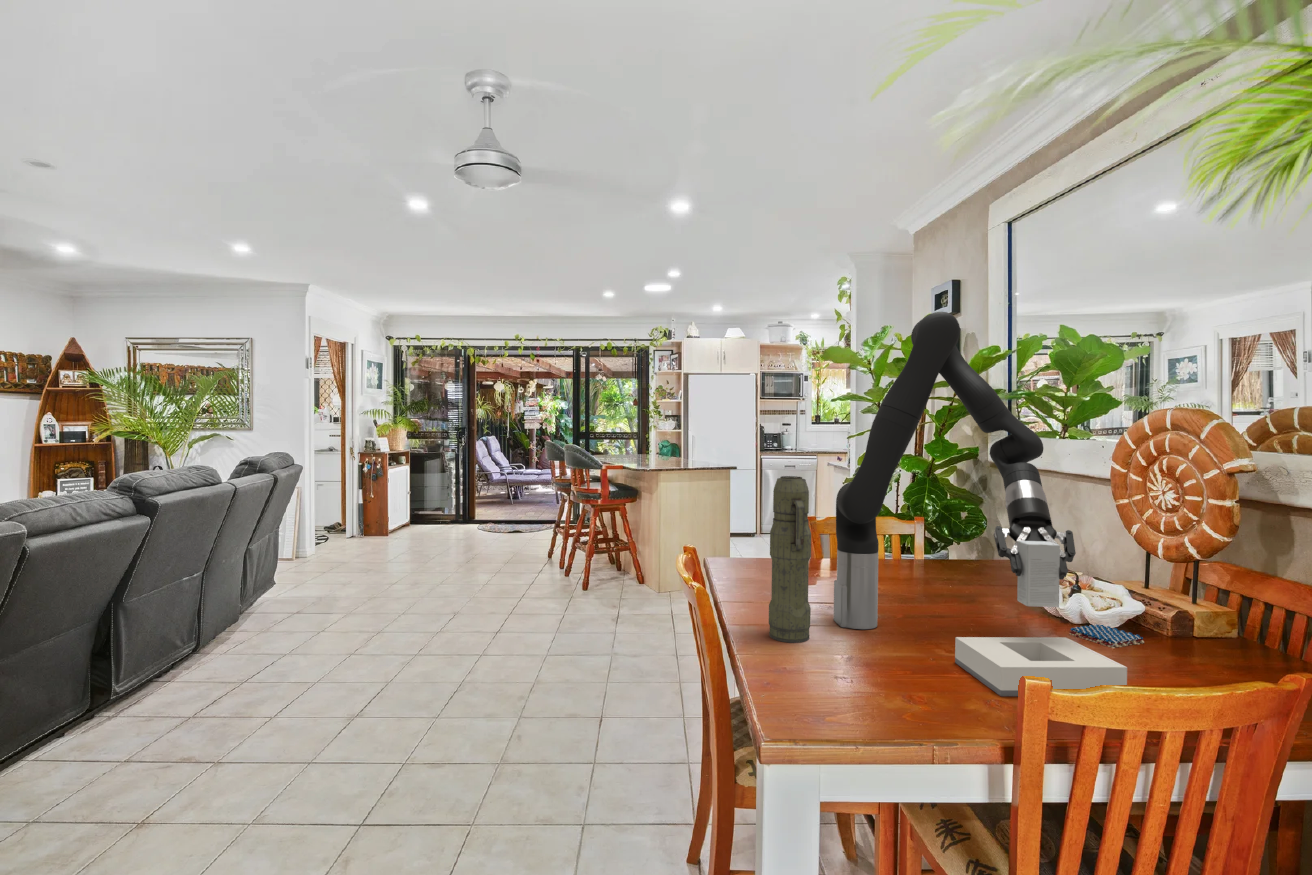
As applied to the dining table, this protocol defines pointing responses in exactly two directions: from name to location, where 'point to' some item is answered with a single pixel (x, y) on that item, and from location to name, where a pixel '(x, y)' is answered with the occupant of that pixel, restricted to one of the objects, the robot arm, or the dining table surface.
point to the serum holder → (1035, 663)
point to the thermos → (790, 561)
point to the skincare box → (1039, 573)
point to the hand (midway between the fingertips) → (1040, 575)
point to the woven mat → (1106, 635)
